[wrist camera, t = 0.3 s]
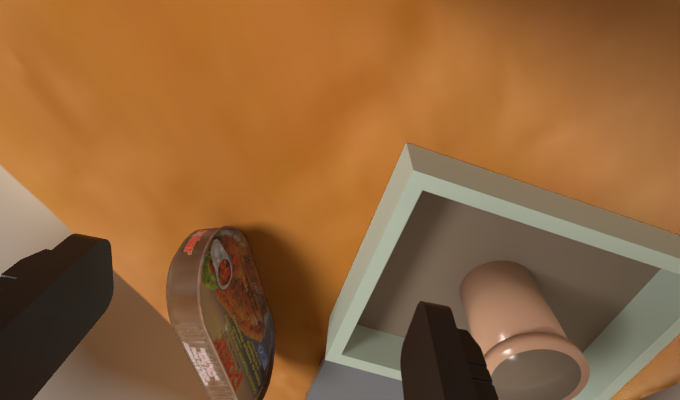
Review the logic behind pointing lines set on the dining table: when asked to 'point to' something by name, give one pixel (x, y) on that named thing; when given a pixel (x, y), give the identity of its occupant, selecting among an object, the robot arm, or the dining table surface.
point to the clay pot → (520, 335)
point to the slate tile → (352, 384)
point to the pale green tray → (508, 245)
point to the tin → (222, 314)
